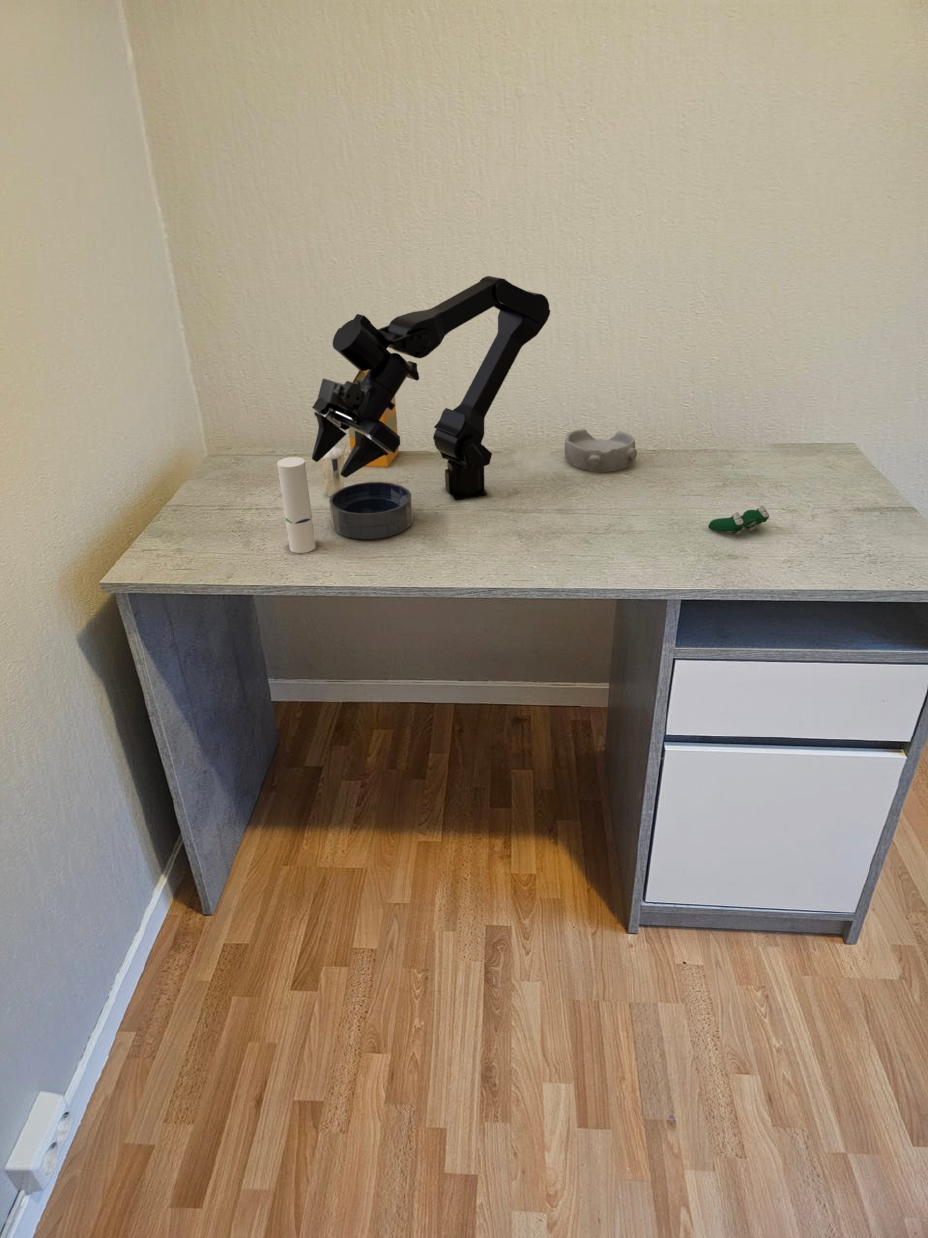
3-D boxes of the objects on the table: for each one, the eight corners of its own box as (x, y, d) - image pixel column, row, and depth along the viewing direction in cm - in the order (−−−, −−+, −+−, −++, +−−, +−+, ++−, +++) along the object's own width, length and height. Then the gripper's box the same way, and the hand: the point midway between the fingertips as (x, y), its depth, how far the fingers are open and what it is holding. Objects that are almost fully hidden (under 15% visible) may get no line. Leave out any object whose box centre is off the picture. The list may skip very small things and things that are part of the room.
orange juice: (399, 451, 177) (393, 356, 166) (387, 467, 170) (380, 367, 159) (364, 450, 178) (355, 354, 168) (351, 465, 171) (341, 366, 161)
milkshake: (347, 500, 156) (342, 448, 151) (320, 498, 157) (314, 447, 152) (355, 490, 160) (350, 440, 154) (328, 489, 161) (322, 438, 155)
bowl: (401, 502, 154) (399, 477, 152) (421, 533, 143) (420, 506, 140) (326, 514, 151) (323, 488, 148) (341, 547, 139) (338, 519, 137)
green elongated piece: (713, 544, 141) (735, 531, 135) (705, 523, 141) (726, 509, 136) (754, 532, 144) (777, 518, 139) (746, 512, 145) (768, 498, 139)
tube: (295, 540, 142) (283, 456, 134) (319, 542, 141) (308, 457, 133) (286, 552, 138) (273, 466, 130) (310, 553, 137) (298, 467, 129)
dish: (558, 451, 175) (559, 428, 172) (622, 447, 176) (624, 424, 173) (573, 477, 162) (574, 453, 160) (642, 473, 164) (645, 448, 161)
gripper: (315, 347, 137) (264, 428, 137) (378, 370, 124) (322, 459, 124) (361, 385, 145) (313, 461, 145) (424, 410, 132) (371, 494, 132)
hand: (328, 468), depth 136 cm, fingers open, 9 cm apart
